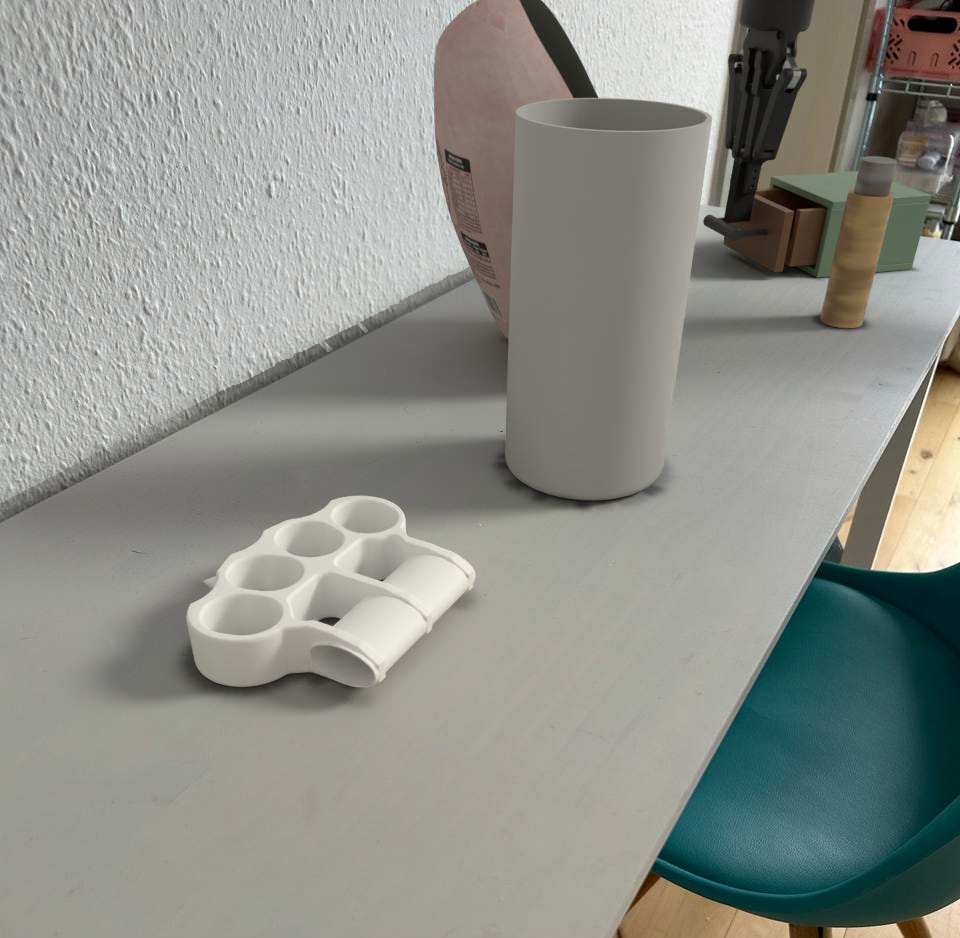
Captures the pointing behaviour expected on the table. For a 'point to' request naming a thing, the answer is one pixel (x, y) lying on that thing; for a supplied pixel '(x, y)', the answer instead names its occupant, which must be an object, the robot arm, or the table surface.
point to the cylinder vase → (599, 289)
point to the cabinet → (833, 194)
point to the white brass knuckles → (324, 598)
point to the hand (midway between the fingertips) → (736, 219)
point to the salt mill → (859, 243)
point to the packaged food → (494, 122)
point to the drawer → (776, 230)
